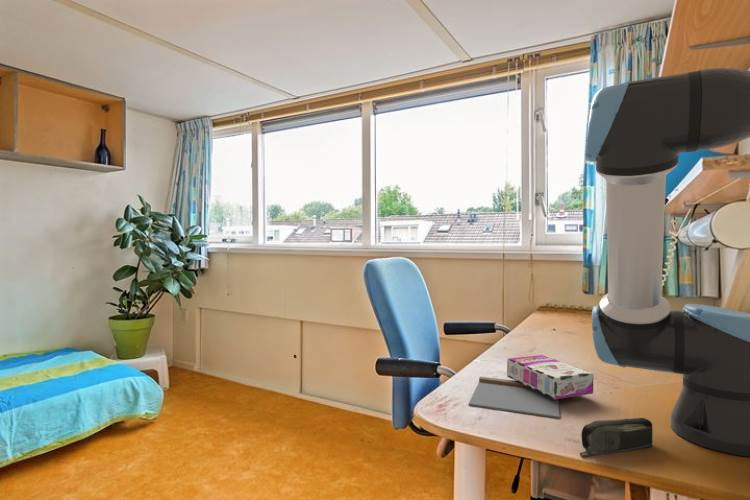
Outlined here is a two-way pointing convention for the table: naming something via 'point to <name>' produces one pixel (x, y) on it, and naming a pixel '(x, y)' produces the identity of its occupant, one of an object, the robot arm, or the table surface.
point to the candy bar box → (550, 376)
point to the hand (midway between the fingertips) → (637, 264)
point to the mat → (514, 400)
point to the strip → (502, 382)
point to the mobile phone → (616, 436)
